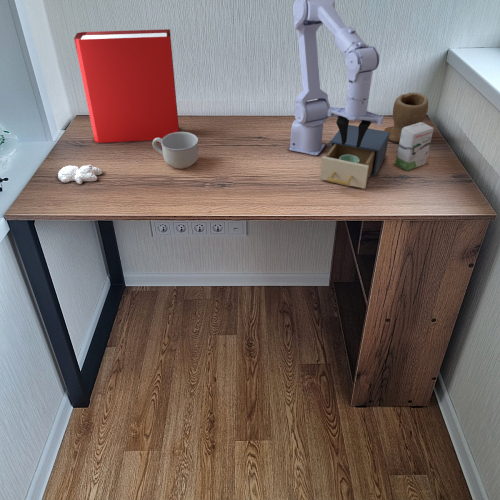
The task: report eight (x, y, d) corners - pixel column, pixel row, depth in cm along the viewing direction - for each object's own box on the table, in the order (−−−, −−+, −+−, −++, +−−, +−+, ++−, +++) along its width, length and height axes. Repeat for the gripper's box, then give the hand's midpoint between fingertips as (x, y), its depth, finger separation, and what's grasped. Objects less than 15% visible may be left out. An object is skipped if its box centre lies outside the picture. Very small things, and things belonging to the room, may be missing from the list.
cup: (341, 166, 148) (342, 153, 146) (359, 170, 146) (361, 156, 144) (335, 174, 144) (336, 161, 141) (354, 178, 142) (356, 165, 140)
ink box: (406, 171, 149) (414, 134, 142) (393, 164, 153) (401, 127, 145) (426, 163, 153) (435, 127, 146) (413, 157, 156) (421, 121, 149)
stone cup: (389, 148, 161) (398, 102, 152) (380, 132, 171) (387, 88, 162) (436, 147, 162) (447, 101, 153) (424, 131, 171) (434, 87, 162)
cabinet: (374, 176, 147) (379, 150, 142) (327, 166, 152) (330, 140, 147) (385, 156, 157) (389, 132, 152) (340, 148, 161) (343, 123, 156)
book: (178, 128, 173) (169, 29, 154) (179, 138, 167) (169, 36, 147) (97, 132, 170) (77, 32, 151) (94, 143, 164) (73, 39, 145)
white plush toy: (92, 186, 142) (90, 176, 141) (53, 181, 144) (50, 172, 142) (105, 171, 149) (103, 161, 147) (67, 167, 151) (65, 158, 149)
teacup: (206, 160, 155) (204, 135, 150) (188, 175, 147) (185, 150, 142) (167, 151, 159) (164, 127, 155) (147, 166, 152) (144, 141, 147)
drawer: (360, 197, 136) (363, 175, 132) (314, 186, 141) (316, 165, 137) (375, 169, 149) (378, 148, 145) (332, 160, 153) (335, 140, 149)
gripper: (326, 97, 131) (321, 145, 139) (381, 106, 126) (373, 155, 135) (334, 88, 136) (329, 135, 145) (388, 96, 131) (379, 145, 140)
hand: (351, 144), depth 140 cm, fingers open, 3 cm apart
